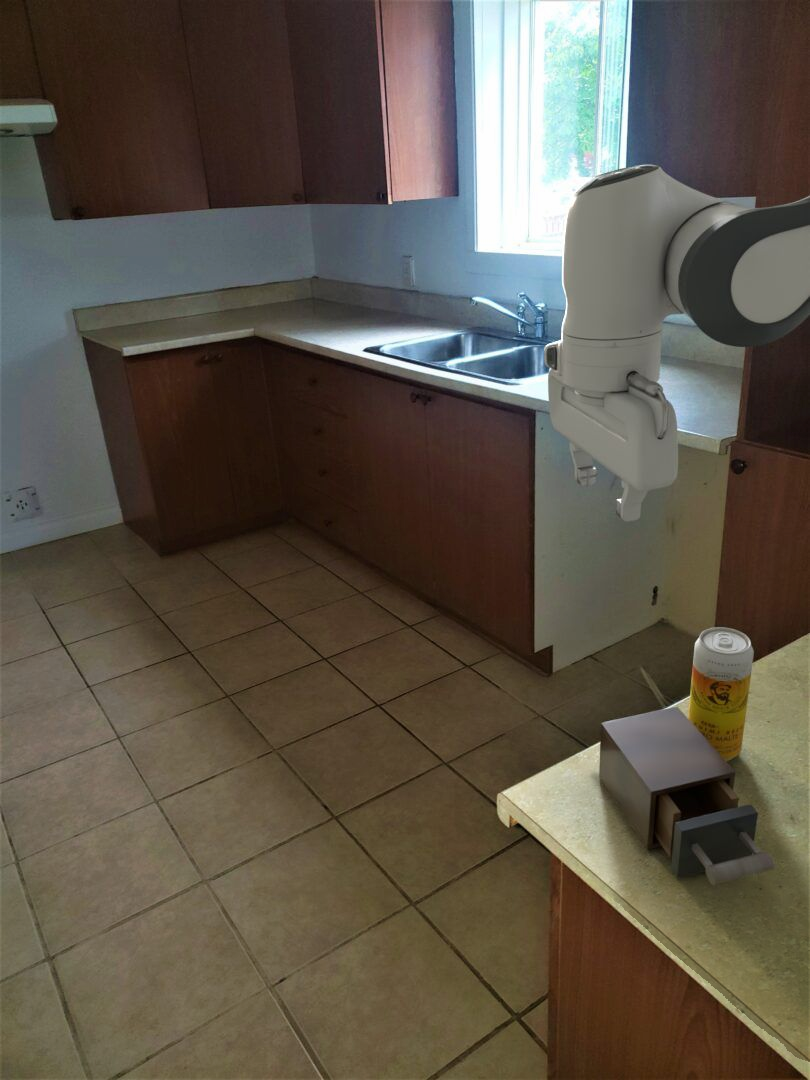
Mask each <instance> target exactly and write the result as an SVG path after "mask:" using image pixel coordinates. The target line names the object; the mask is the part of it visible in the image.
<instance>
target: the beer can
mask: <svg viewBox="0 0 810 1080" xmlns="http://www.w3.org/2000/svg"><path fill="white" fill-rule="evenodd" d="M754 655H755V650H754V648H753V646H752V642H751V639H750V637H749V636H747V634H745V633H743V632H742V631H740V630H737V629H734V628H730V627H723V626H721V627H719V626H717V627H716V626H715V627H710V628H707V629H705V630H703V631H702V632H700V634H699V637H698V638H697V639H696V641H695V642H694V650H693V661H692V670H691V682H690V691H689V692H690V693H689V702H688V713H687V714H688V715H687V718H688V719H689V720H690V721H691V722H692V724H693V725H694V726H695V727H696V728H697V729H698V730H699V731H700V733H701V734H702V735H703V736H704V737H705V738H706V739H707V740H708V742H709V743H710V744H711V745H712V746H713V747H714V748H715V749H716V750H717V752H718V753H719V754H720V755H721V756H722V757H723V758H724V759H725V761H726V762H729V761H731V760H732V759H734V758H735V757H737V756H738V755H739V754H740V753H741V751H742V748H743V738H744V732H745V724H746V716H747V709H748V700H749V694H750V693H749V692H750V687H751V686H750V685H751V677H752V671H753V670H752V669H753V662H754Z"/></svg>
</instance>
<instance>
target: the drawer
mask: <svg viewBox="0 0 810 1080" xmlns="http://www.w3.org/2000/svg"><path fill="white" fill-rule="evenodd" d="M739 801H740V797H739V796H738V795H737V793H736V792H735V791H734V789H733V790H732V789H731V788H730V787H729V786H728V784H727V783H726V782H725V781H724V780H723V779H722V780H718V781H714V782H710V783H705V784H701V785H697V786H693V787H689V788H684V789H680V790H676V791H672V792H668V793H663V794H659V795H656V804H655V817H654V831H653V834H654V835H655V837H656V838H657V840H658V841H659V843H660V844H661V846H660V847H662V848H663V851H665V853H666V854H667V856H668V857H669V858H671V863H670V864H671V865H670V870H671V872H672V873H673V875H674V876H675V878H676V879H680V878H681V879H682V878H684V877H689V876H692V875H696V874H700V873H704V872H705V875H706V878H707V880H708V882H709V883H710V885H713V886H714V885H715V886H716V885H720V884H723V883H727V882H730V881H734V880H738V879H742V878H745V877H749V876H753V875H757V874H761V873H764V872H768V871H772V870H774V869H775V866H776V864H775V860H774V858H773V856H772V854H771V853H770V852H768V851H762V850H761V848H759V846H758V845H757V844H756V843H755V838H756V837H755V836H756V831H757V825H758V824H757V823H758V818H759V817H758V816H759V811H758V810H757V809H756V808H755V807H754V806H753V804H752V803H749V804H745V805H740V806H739Z"/></svg>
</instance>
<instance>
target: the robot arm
mask: <svg viewBox="0 0 810 1080" xmlns="http://www.w3.org/2000/svg"><path fill="white" fill-rule="evenodd" d="M563 229H564V230H563V241H562V261H561V283H562V288H563V292H564V295H565V302H566V303H565V313H564V317H563V319H562V320H563V321H562V324H561V339H560V340H558V341H554V342H551V343H548V344H546V345H545V346H544V349H543V353H544V354H543V361H544V365H545V366H546V367H547V368H548V369H549V370H548V374H547V392H548V393H547V394H548V412H549V418H550V421H551V425H552V429H553V430H554V431H555V432H556V433H558V434H559V435H561V436H562V437H563V438H565V439H566V440H567V441H568V442H569V451H570V455H571V458H572V459H571V460H572V462H573V466H574V481H575V482H576V483H578V484H579V485H580V486H582V487H588V486H594V485H596V484H597V475H598V468H596V467H595V465H594V460H595V461H596V462H598V463H599V464H600V465H601V466H603V467H605V468H606V469H607V470H608V471H609V472H611V473H613V474H614V475H615V476H617V477H618V478H619V479H620V480H621V484H620V485H621V488H622V489H623V492H622V496H621V498H617V499H616V501H615V505H616V510H615V514H616V515H617V516H618V517H619V518H620V519H621V520H622V521H624V522H626V523H627V522H633V521H637V520H639V519H640V518H641V515H642V514H641V513H642V503H643V501H644V500H645V497H646V496H647V494H648V493H649V491H654V490H659V489H663V488H668V487H670V486H672V485H673V484H674V482H675V481H676V479H677V477H678V471H679V469H678V468H679V437H678V435H679V433H678V420H677V414H676V411H675V408H674V406H673V404H672V403H671V401H669V400H668V399H667V397H666V395H665V393H664V387H663V386H662V385H661V384H660V383H659V382H658V381H659V379H660V373H661V358H662V357H661V355H662V338H663V323H664V320H665V319H666V318H667V317H669V316H671V315H672V316H673V315H685V316H686V317H688V318H689V319H691V321H692V322H693V323H694V324H695V325H696V326H697V327H698V329H699V330H700V331H701V332H702V333H703V334H705V336H707V337H709V338H710V339H711V340H713V341H716V342H718V343H720V344H723V345H725V346H730V347H735V348H750V347H751V348H752V347H758V346H763V345H766V344H770V343H773V342H774V341H776V340H779V339H781V338H783V337H784V336H786V335H788V334H789V333H791V332H792V331H794V330H795V329H796V328H797V327H798V326H800V325H802V323H803V322H804V321H805V320H806V319H807V318H808V317H809V316H810V195H808V196H806V197H804V198H801V199H799V200H797V201H794V202H790V203H786V204H780V205H774V206H767V207H752V206H746V205H744V204H739V203H734V202H730V201H728V200H724V199H721V198H718V197H715V196H712V195H709V194H707V193H704V192H701V191H699V190H697V189H695V188H692V187H689V186H688V185H686V184H684V183H683V182H680V181H678V180H677V179H675V178H673V177H672V176H671V175H669V174H668V173H666V172H665V170H663V169H662V168H661V166H659V165H654V164H638V165H634V166H630V167H622V168H618V169H613V170H611V171H608V172H604V173H601V174H598V175H595V176H593V177H591V178H588V179H587V180H585V181H584V182H582V183H581V184H580V185H579V186H578V187H577V188H576V189H575V191H574V192H573V193H572V194H571V197H570V199H569V202H568V205H567V209H566V215H565V221H564V228H563Z"/></svg>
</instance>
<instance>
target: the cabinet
mask: <svg viewBox="0 0 810 1080" xmlns="http://www.w3.org/2000/svg"><path fill="white" fill-rule="evenodd" d="M599 739H600V740H599V767H598V768H599V769H598V770H599V771H598V777H599V780H600V781H601V782H602V784H603V786H604V787H605V788H606V790H607V792H608V793H609V794H610V796H611V797H612V799H613V800H614V802H615V804H616V805H617V807H618V808H619V810H620V811H621V813H622V814H623V815H624V817H625V819H626V820H627V822H628V823H629V825H630V826H631V828H632V829H633V831H634V832H635V834H636V835H637V837H638V838H639V840H640V841H641V843H642V844H643V846H644V847H645V849H646V850H652V849H657V848H659V847H660V848H661V847H662V846H661V844H660V843H659V841H658V840H657V838H656V837H655V835H654V834H653V831H654V817H655V804H656V795H659V794H663V793H668V792H672V791H676V790H680V789H684V788H689V787H693V786H697V785H701V784H705V783H710V782H714V781H718V780H722V779H723V780H724V781H725V782H726V783H727V784H728V786H729V787H730V788H731V789H732V790H733V791H734V789H735V788H734V787H735V781H736V773H737V772H736V770H734V768H733V767H732V766H731V764H730V763H728V761H725V759H724V758H723V757H722V756H721V755H720V754H719V753H718V752H717V750H716V749H715V748H714V747H713V746H712V745H711V744H710V743H709V742H708V740H707V739H706V738H705V737H704V736H703V735H702V734H701V733H700V731H699V730H698V729H697V728H696V727H695V726H694V725H693V724H692V722H691V721H690V720H689V719H688V716H686V714H685V713H684V712H683V711H682V710H681V709H680V707H679V706H673V707H672V706H671V707H668V708H664V709H659V710H654V711H650V712H645V713H641V714H635V715H631V716H627V717H623V718H618V719H613V720H609V721H604V722H601V723H600V737H599Z"/></svg>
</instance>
